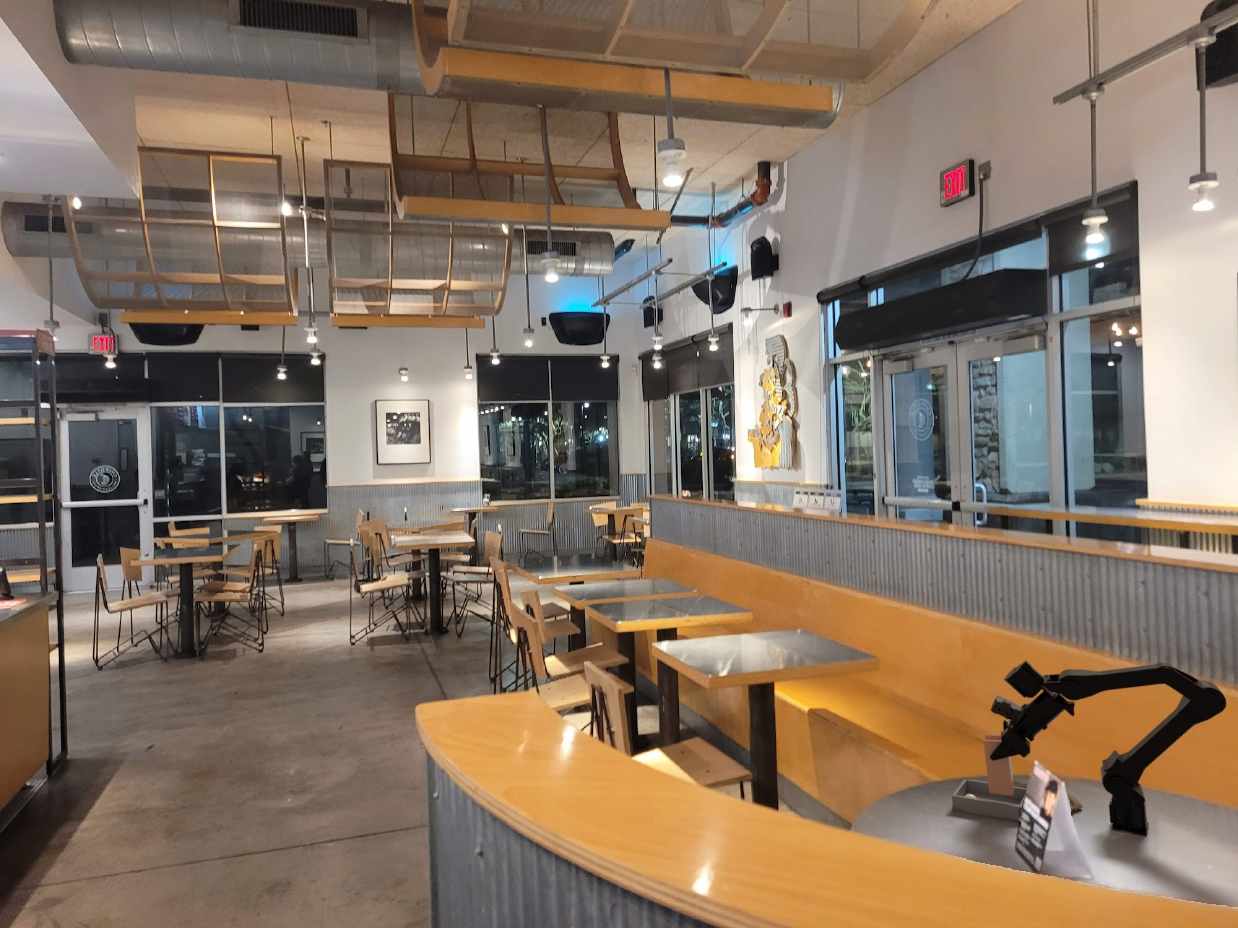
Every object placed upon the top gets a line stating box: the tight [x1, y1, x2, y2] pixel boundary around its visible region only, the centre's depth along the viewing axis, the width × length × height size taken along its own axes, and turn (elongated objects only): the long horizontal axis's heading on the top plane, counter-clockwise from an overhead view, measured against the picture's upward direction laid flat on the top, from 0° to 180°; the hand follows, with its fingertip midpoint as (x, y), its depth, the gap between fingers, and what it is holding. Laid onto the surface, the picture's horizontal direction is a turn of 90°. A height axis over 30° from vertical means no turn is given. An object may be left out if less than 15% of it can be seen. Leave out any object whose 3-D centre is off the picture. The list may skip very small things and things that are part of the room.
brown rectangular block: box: [983, 733, 1014, 795], centre depth 190 cm, size 5×5×12 cm
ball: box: [965, 794, 977, 799], centre depth 192 cm, size 3×3×3 cm
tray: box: [951, 778, 1027, 823], centre depth 193 cm, size 15×12×4 cm
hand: (991, 755), depth 191 cm, fingers closed on brown rectangular block, 5 cm apart
